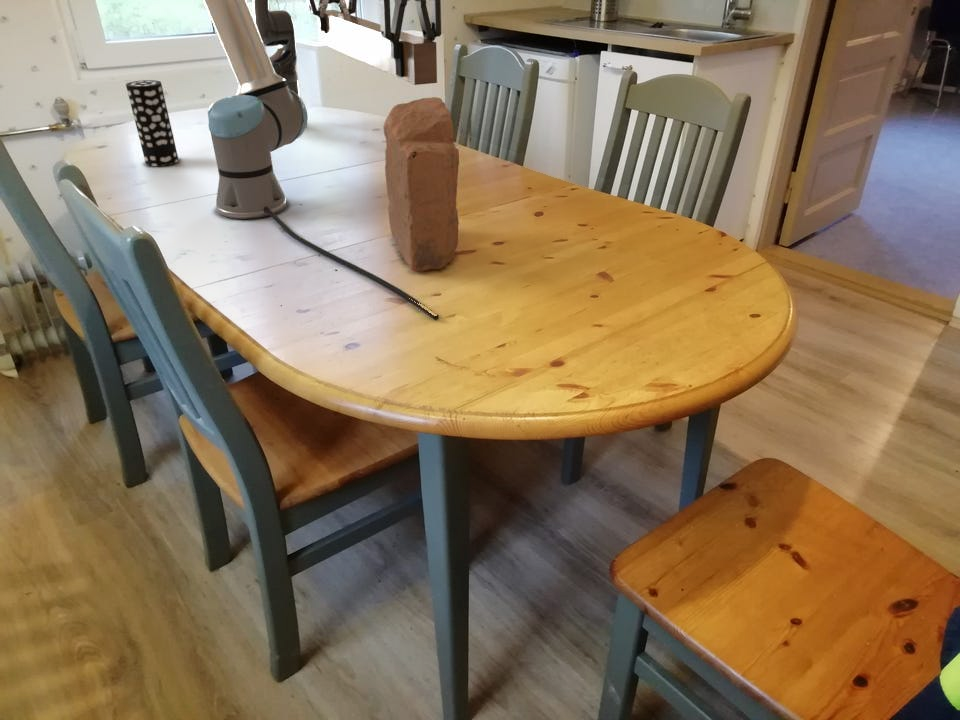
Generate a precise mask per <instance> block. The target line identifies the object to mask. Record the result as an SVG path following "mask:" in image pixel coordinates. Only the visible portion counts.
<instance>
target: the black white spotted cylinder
mask: <svg viewBox="0 0 960 720" xmlns="http://www.w3.org/2000/svg"><path fill="white" fill-rule="evenodd" d="M125 87H126V91H127V95H128V99H129V103H130V107H131V110H132V115H133V118H134V122H135V123H134V124H135V127H136V130H137V134H138V139H139V143H140V146H141V150H142V155H143V158H144V163H145V164H146V165H147V166H151V167H164V166H170V165H174V164H176V163H178V162H179V155H178V150H177V146H176V142H175V137H174V133H173V128H172V125H171V121H170V116H169V111H168V107H167V103H166V98H165V93H164V89H163V84H162V81H161V80H155V79H154V80H153V79H151V80H150V79H145V80H144V79H141V80H134V81H130V82H129V81H128V82H127V83H126V84H125Z"/></svg>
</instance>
